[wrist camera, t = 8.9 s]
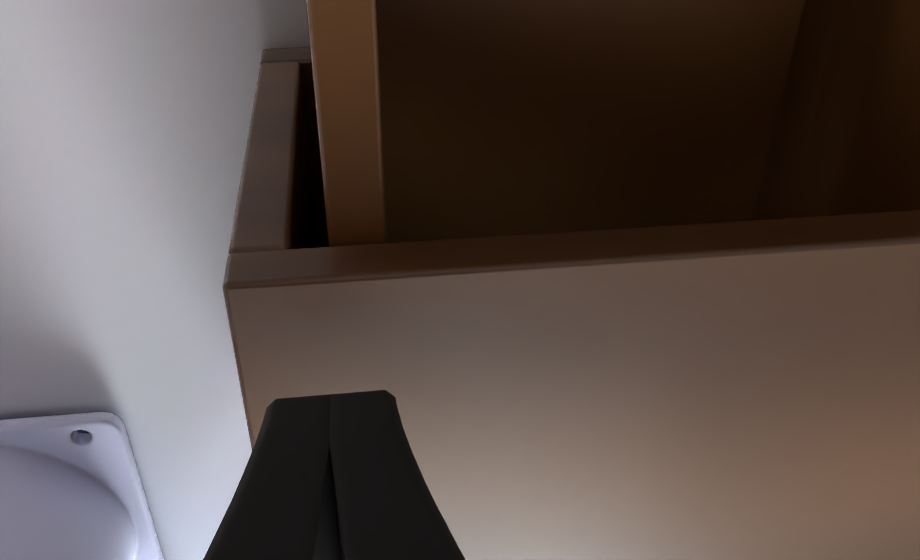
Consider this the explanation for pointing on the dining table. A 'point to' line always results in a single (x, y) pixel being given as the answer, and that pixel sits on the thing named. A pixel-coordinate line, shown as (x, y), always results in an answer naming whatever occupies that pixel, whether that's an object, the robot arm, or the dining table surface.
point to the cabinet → (599, 365)
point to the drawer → (610, 113)
